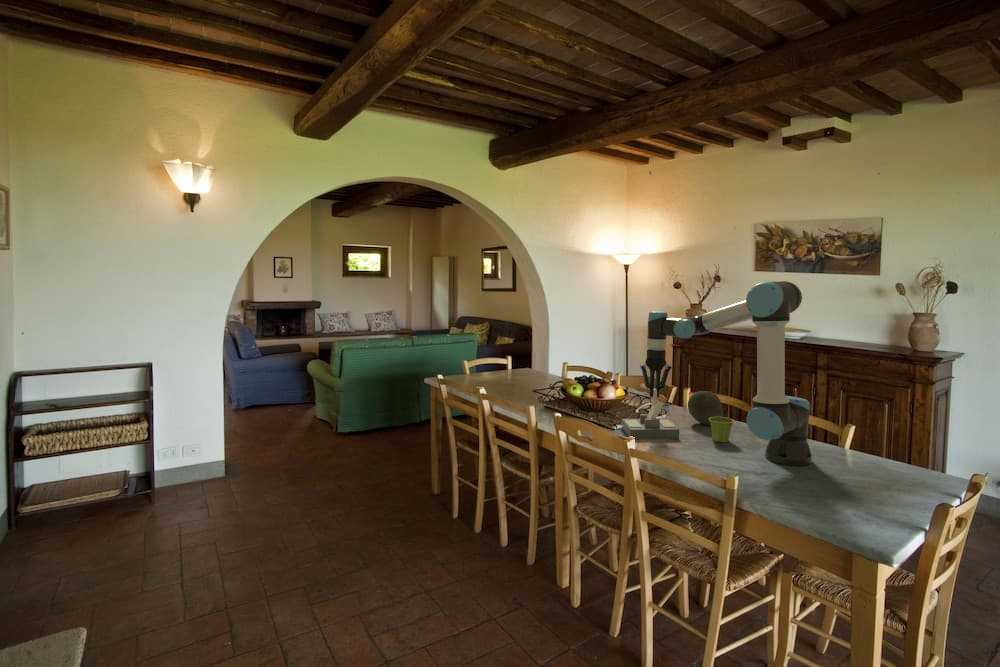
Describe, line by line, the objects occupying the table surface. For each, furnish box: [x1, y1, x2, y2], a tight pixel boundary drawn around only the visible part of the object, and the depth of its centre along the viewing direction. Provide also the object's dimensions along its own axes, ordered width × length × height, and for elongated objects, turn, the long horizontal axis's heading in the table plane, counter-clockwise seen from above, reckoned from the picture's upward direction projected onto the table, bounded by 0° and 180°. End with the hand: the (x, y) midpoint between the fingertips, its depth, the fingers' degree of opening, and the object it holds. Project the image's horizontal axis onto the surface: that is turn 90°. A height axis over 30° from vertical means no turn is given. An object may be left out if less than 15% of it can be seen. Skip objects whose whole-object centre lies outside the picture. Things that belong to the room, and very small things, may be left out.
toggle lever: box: [645, 393, 668, 419], centre depth 235 cm, size 5×3×13 cm, turn 0°
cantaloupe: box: [687, 390, 723, 426], centre depth 249 cm, size 14×14×15 cm
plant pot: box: [709, 416, 735, 443], centre depth 226 cm, size 9×9×9 cm
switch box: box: [621, 413, 681, 440], centre depth 236 cm, size 16×20×7 cm
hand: (653, 404), depth 235 cm, fingers closed
